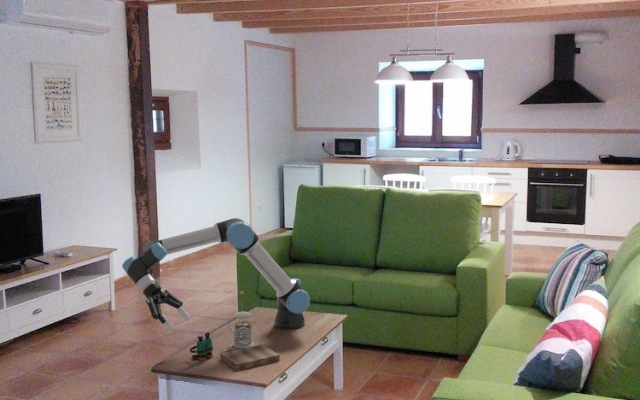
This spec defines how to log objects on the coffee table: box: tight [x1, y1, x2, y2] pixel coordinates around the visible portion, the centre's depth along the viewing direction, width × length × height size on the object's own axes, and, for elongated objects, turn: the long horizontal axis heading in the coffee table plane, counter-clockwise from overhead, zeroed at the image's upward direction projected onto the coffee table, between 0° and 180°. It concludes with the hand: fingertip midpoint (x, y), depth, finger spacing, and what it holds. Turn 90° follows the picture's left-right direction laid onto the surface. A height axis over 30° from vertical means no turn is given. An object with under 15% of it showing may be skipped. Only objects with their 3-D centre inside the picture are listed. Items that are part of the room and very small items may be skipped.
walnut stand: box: [219, 344, 281, 371], centre depth 292 cm, size 20×16×2 cm
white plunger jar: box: [227, 290, 255, 349], centre depth 311 cm, size 10×12×25 cm
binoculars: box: [189, 332, 214, 362], centre depth 296 cm, size 9×11×10 cm
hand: (179, 323), depth 298 cm, fingers open, 13 cm apart
